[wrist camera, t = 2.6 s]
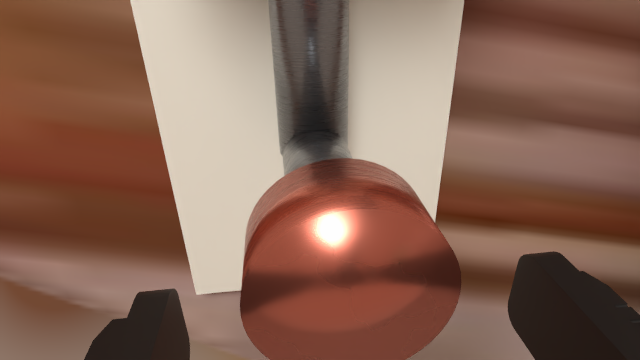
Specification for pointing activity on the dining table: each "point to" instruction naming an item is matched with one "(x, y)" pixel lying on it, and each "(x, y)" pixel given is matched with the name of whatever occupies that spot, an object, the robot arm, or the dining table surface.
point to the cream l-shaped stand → (261, 113)
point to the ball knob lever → (336, 220)
